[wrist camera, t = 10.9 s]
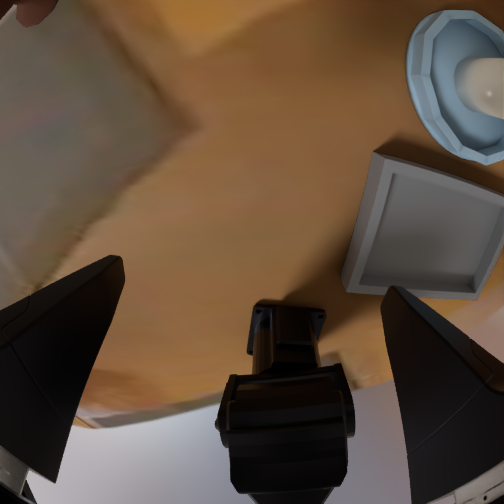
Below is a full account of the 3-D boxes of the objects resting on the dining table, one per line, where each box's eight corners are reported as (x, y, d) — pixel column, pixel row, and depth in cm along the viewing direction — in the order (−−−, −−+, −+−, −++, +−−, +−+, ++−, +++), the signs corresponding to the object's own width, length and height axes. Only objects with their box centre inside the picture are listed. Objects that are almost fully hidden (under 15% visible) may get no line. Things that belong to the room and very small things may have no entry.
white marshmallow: (488, 120, 15) (521, 130, 12) (450, 100, 15) (484, 106, 11) (494, 72, 13) (527, 75, 9) (456, 48, 13) (489, 46, 9)
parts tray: (466, 287, 24) (476, 300, 22) (340, 276, 23) (345, 292, 21) (504, 194, 18) (518, 203, 17) (373, 151, 18) (384, 158, 16)
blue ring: (501, 175, 18) (516, 183, 16) (393, 134, 17) (406, 139, 15) (518, 53, 11) (533, 54, 10) (409, -14, 11) (422, -21, 9)
